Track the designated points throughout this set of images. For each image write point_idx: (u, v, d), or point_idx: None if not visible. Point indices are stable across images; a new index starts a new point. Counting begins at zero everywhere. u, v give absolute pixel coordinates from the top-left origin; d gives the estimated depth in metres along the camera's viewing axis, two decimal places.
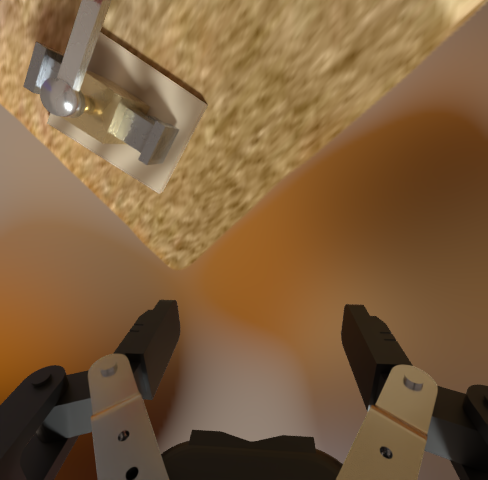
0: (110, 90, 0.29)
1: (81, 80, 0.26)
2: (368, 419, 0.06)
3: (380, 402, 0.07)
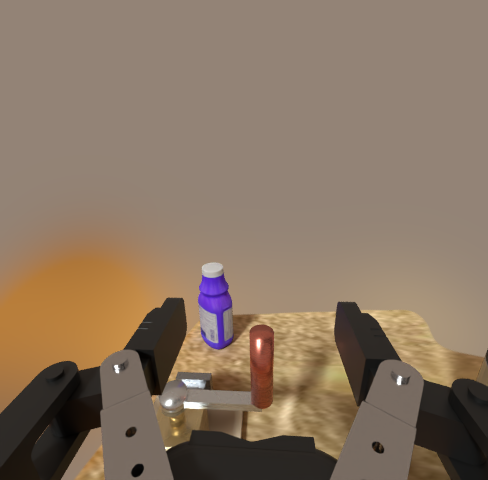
0: None
1: (193, 407, 0.30)
2: (359, 415, 0.07)
3: (370, 398, 0.08)
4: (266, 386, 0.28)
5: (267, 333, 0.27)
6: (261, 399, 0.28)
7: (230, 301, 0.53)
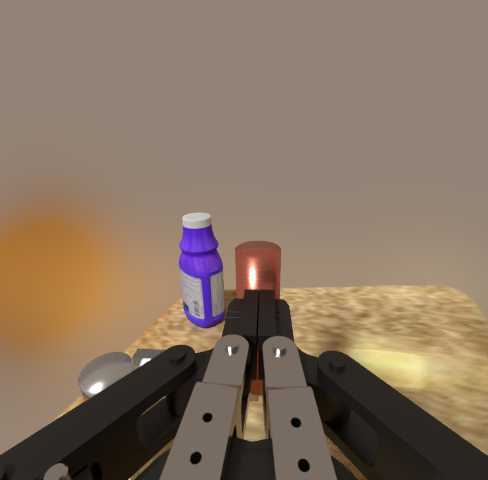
0: None
1: None
2: (271, 403, 0.07)
3: (268, 381, 0.08)
4: None
5: (268, 250, 0.14)
6: None
7: (220, 263, 0.40)
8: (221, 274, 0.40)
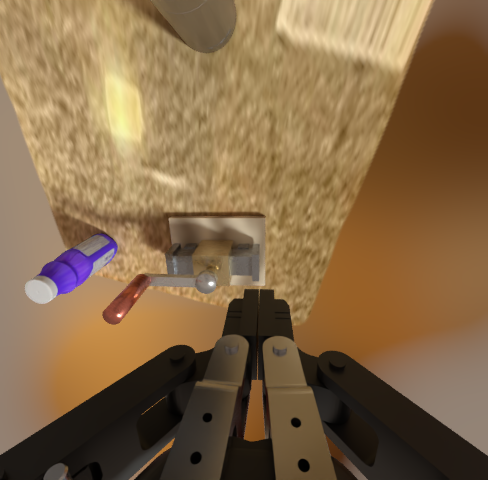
0: (220, 256, 0.44)
1: (191, 275, 0.42)
2: (271, 403, 0.07)
3: (268, 381, 0.08)
4: None
5: (107, 315, 0.34)
6: (137, 278, 0.40)
7: (70, 252, 0.44)
8: (78, 248, 0.46)
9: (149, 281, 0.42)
